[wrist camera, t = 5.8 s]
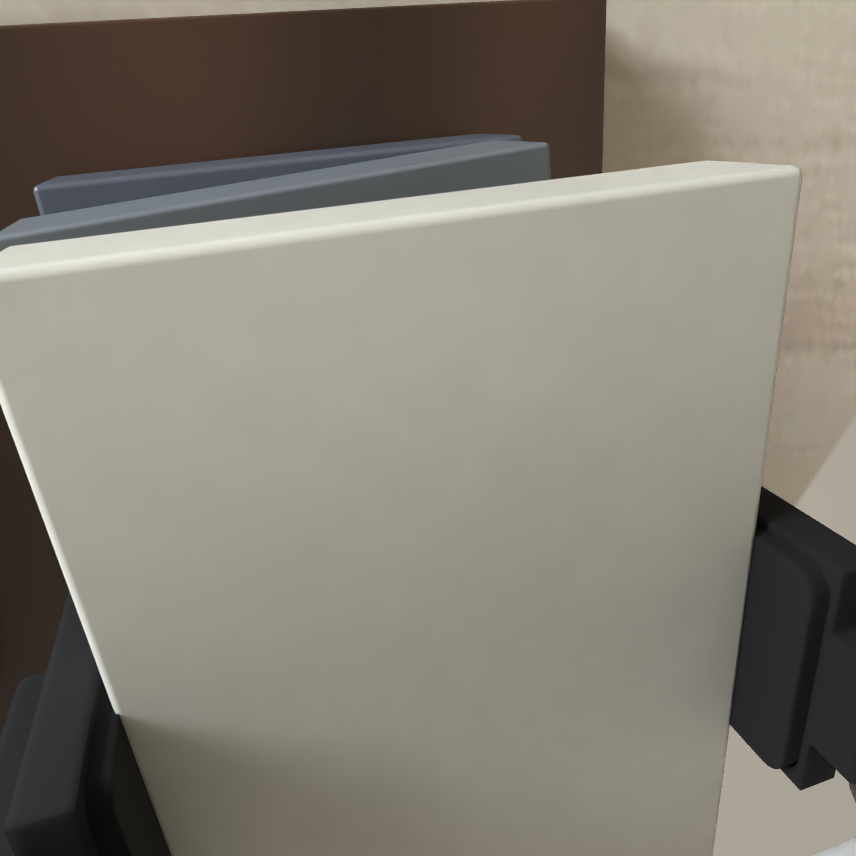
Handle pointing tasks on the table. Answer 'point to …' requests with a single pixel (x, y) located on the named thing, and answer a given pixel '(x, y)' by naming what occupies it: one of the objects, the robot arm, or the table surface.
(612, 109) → the table surface
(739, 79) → the table surface
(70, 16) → the table surface
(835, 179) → the table surface
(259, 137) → the shelf board
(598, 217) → the white book
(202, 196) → the grey stack
